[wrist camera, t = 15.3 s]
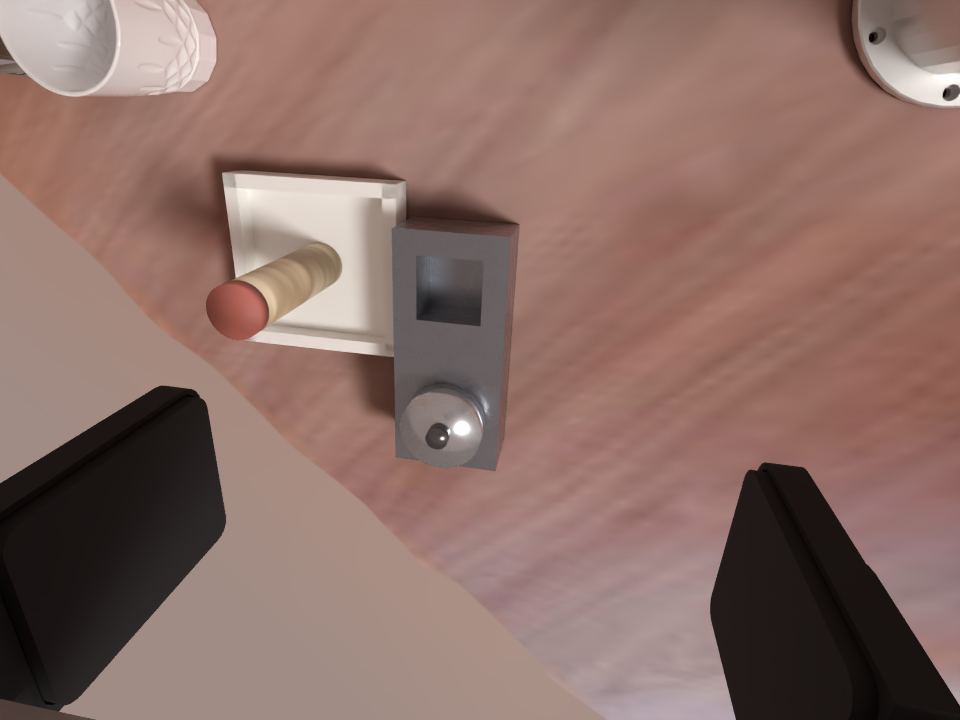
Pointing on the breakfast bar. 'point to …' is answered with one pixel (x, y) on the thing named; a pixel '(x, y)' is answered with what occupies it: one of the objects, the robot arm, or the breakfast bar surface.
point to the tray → (336, 222)
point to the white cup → (110, 45)
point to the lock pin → (272, 290)
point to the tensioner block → (452, 338)
